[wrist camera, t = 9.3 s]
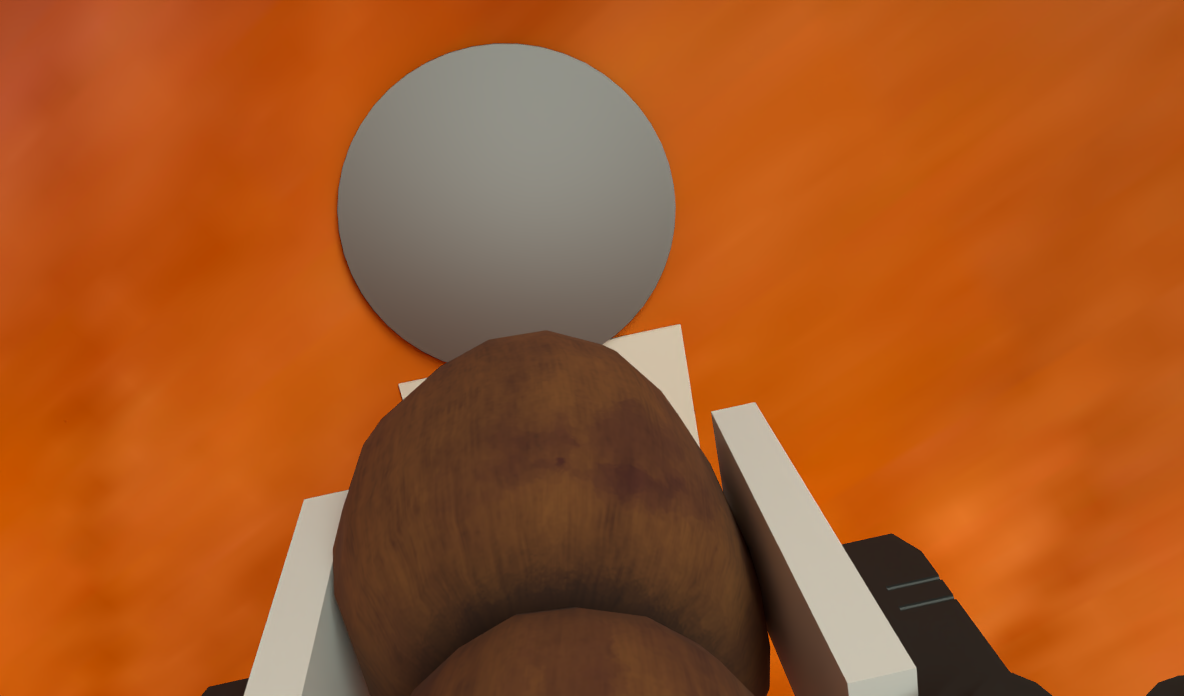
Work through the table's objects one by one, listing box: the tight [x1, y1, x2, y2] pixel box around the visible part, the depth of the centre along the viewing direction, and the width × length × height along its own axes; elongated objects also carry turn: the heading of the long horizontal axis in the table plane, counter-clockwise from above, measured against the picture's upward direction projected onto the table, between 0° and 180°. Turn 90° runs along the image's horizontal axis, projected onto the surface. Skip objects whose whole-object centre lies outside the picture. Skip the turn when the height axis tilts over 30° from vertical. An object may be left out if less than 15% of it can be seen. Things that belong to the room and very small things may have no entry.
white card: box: [399, 324, 700, 447], centre depth 39 cm, size 11×11×1 cm
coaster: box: [337, 43, 675, 362], centre depth 35 cm, size 12×12×1 cm
